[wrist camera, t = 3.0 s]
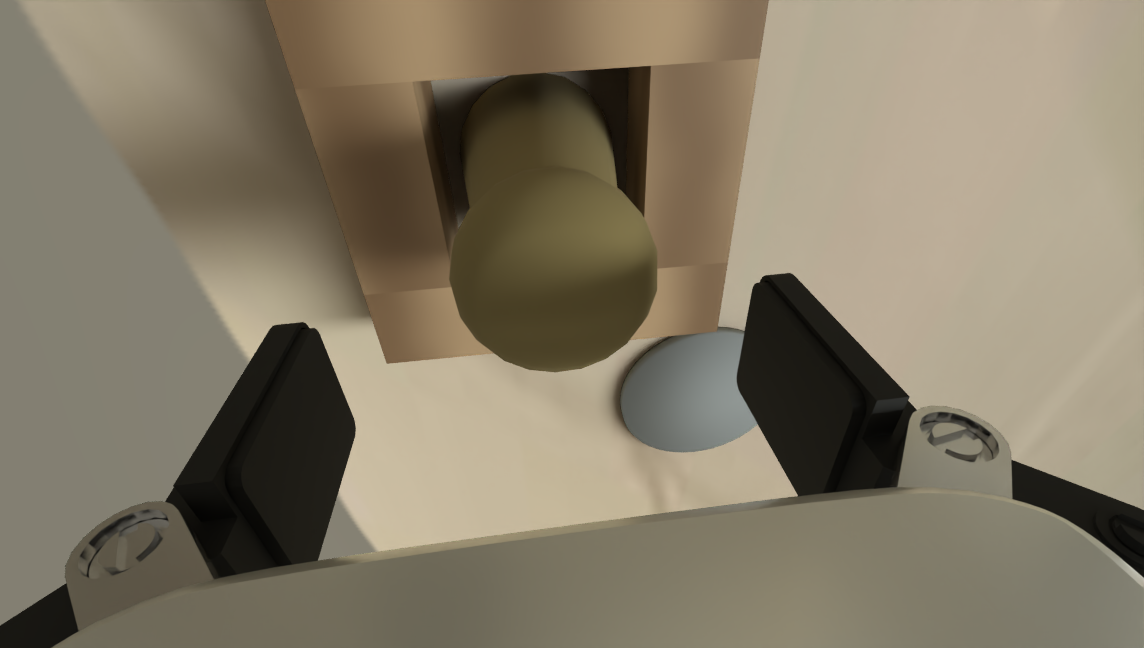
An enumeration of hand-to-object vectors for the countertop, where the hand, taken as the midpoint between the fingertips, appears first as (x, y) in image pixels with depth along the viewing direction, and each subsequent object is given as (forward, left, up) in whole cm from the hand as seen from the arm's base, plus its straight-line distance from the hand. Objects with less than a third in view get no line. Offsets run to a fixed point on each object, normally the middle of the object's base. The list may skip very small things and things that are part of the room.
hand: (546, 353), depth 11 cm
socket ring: (0, -1, -12) cm, 12 cm away
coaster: (-8, +13, -12) cm, 20 cm away
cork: (0, -1, -12) cm, 12 cm away
